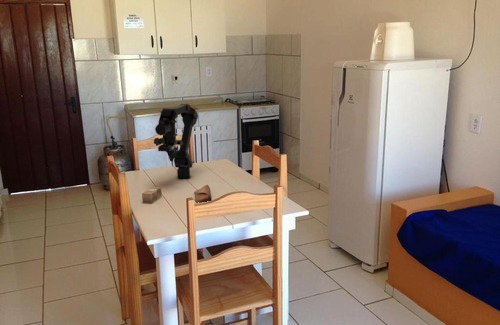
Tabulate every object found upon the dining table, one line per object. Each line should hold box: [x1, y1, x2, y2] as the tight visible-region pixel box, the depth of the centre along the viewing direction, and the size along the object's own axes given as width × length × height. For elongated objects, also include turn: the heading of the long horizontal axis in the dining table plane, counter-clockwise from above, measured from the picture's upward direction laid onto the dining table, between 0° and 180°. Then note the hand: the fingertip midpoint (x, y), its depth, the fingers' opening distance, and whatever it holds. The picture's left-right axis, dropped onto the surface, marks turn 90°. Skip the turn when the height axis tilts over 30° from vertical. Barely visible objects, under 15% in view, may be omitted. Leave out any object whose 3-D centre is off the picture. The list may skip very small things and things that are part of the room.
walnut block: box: [141, 186, 162, 205], centre depth 214 cm, size 5×5×10 cm
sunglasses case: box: [193, 184, 212, 204], centre depth 217 cm, size 18×7×7 cm
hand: (171, 161), depth 234 cm, fingers closed
